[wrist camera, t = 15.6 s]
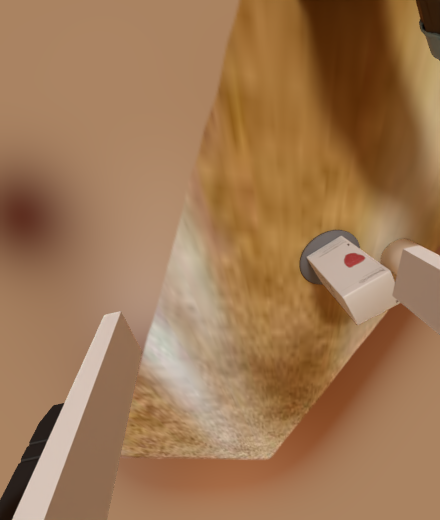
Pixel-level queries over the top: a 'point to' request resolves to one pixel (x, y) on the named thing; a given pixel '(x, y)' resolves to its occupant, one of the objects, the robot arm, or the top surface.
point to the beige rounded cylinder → (395, 254)
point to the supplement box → (354, 279)
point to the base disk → (316, 245)
